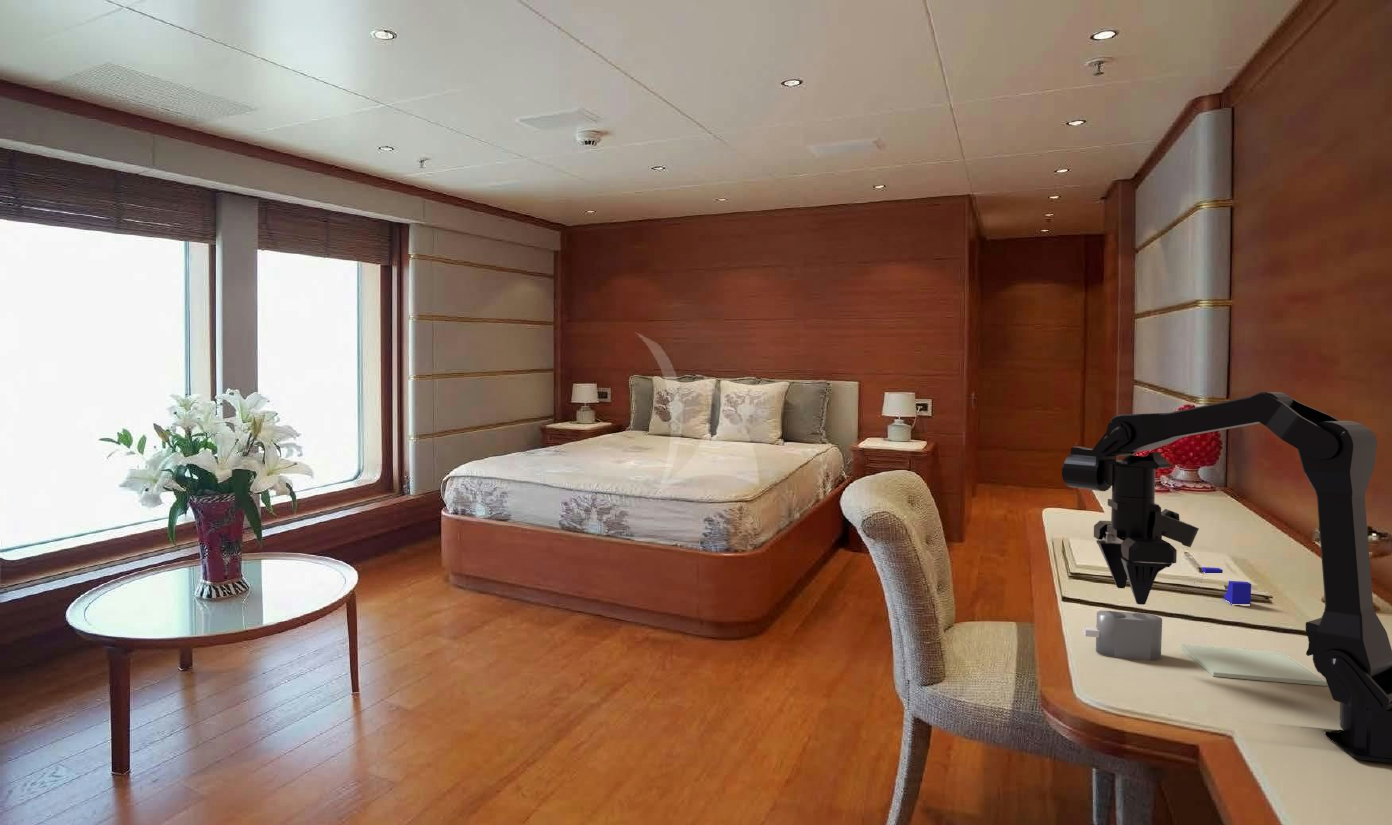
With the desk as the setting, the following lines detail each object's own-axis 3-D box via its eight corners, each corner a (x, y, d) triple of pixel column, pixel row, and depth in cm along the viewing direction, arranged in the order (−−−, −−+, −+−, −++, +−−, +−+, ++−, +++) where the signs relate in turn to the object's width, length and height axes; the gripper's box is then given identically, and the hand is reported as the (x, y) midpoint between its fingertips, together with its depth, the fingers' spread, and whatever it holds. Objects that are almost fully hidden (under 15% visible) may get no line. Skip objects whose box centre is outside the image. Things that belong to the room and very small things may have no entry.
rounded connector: (1165, 661, 114) (1166, 621, 114) (1087, 654, 116) (1088, 616, 116) (1155, 651, 118) (1156, 614, 117) (1080, 645, 120) (1081, 608, 120)
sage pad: (1327, 685, 105) (1327, 681, 105) (1213, 676, 108) (1213, 672, 108) (1281, 655, 116) (1281, 651, 116) (1180, 647, 120) (1180, 643, 120)
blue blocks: (1192, 596, 149) (1193, 566, 149) (1217, 597, 149) (1218, 567, 148) (1222, 614, 138) (1223, 582, 137) (1250, 616, 137) (1251, 583, 137)
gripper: (1219, 506, 105) (1216, 617, 105) (1168, 489, 123) (1165, 583, 124) (1131, 503, 107) (1128, 611, 108) (1093, 486, 126) (1091, 579, 126)
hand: (1130, 595), depth 116 cm, fingers open, 9 cm apart
